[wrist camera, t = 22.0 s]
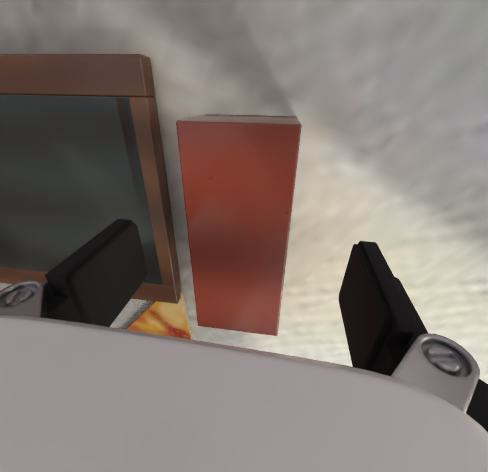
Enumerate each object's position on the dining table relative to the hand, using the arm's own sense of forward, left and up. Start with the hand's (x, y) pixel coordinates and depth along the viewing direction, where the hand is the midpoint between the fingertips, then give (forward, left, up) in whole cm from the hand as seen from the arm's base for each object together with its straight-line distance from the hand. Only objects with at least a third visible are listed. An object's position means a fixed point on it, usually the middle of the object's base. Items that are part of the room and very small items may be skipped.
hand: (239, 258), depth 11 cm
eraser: (+1, -1, -8) cm, 8 cm away
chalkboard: (+1, -17, -8) cm, 19 cm away
